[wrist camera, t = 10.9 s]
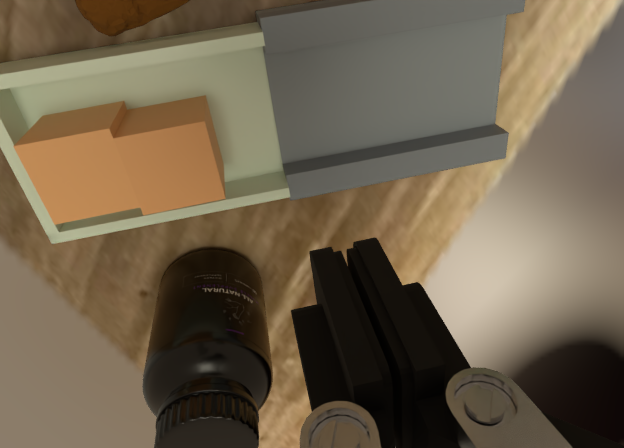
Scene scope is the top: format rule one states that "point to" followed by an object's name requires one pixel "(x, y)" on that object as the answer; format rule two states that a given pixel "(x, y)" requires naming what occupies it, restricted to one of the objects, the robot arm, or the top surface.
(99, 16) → the primitive tool
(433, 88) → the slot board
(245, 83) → the tray
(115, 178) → the orange cube block
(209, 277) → the supplement bottle
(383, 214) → the top surface
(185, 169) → the orange cube
